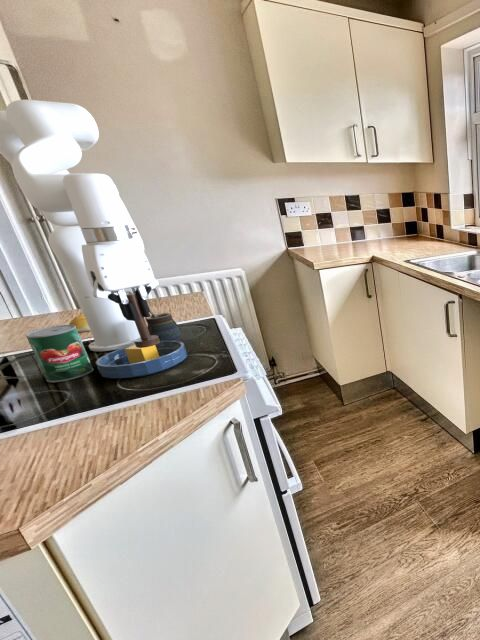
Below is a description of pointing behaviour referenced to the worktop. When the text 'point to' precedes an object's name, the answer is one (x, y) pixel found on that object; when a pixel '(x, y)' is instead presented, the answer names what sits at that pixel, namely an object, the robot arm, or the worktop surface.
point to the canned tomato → (60, 353)
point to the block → (141, 354)
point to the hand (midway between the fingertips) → (138, 317)
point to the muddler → (142, 326)
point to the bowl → (120, 366)
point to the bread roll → (80, 323)
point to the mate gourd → (163, 326)
